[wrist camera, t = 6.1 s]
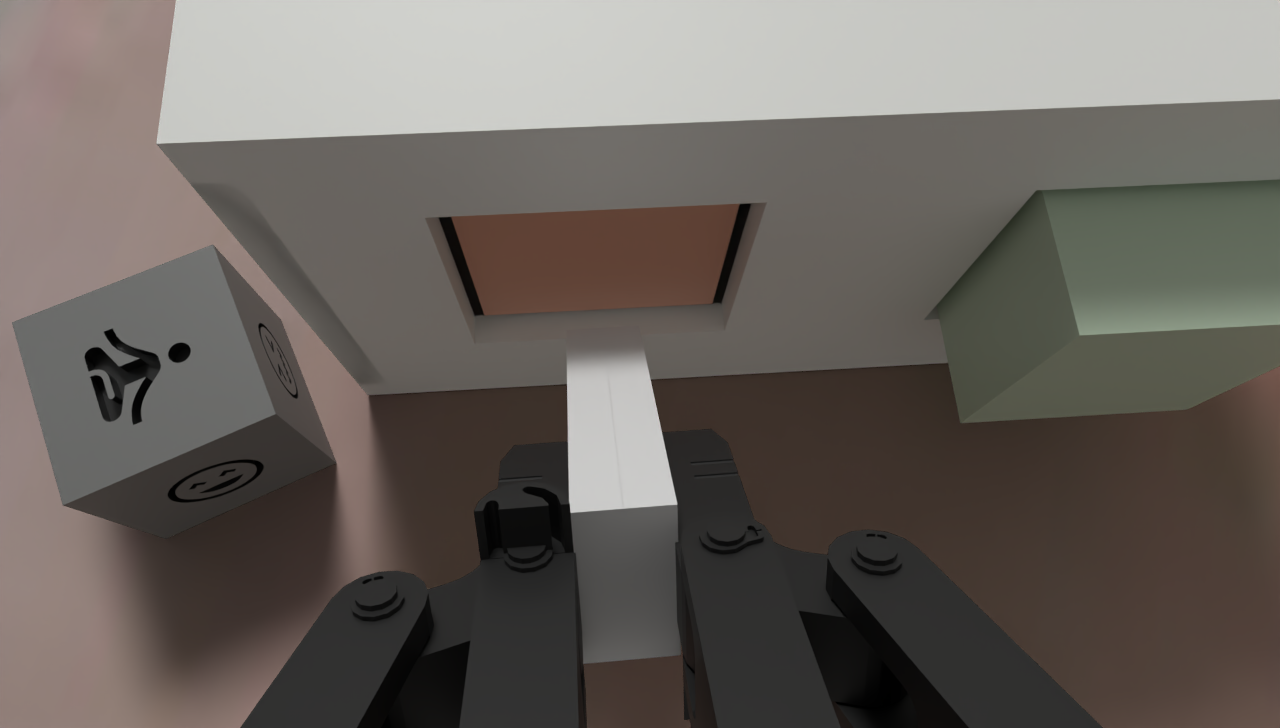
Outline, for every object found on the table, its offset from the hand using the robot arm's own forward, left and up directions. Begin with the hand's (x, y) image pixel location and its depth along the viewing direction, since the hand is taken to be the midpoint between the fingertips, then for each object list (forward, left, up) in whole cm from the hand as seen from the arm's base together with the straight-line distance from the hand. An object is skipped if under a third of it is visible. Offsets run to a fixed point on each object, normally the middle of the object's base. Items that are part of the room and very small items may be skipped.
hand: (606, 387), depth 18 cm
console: (+6, +8, -8) cm, 12 cm away
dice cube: (-11, +2, -8) cm, 14 cm away
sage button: (+12, +3, -4) cm, 13 cm away
